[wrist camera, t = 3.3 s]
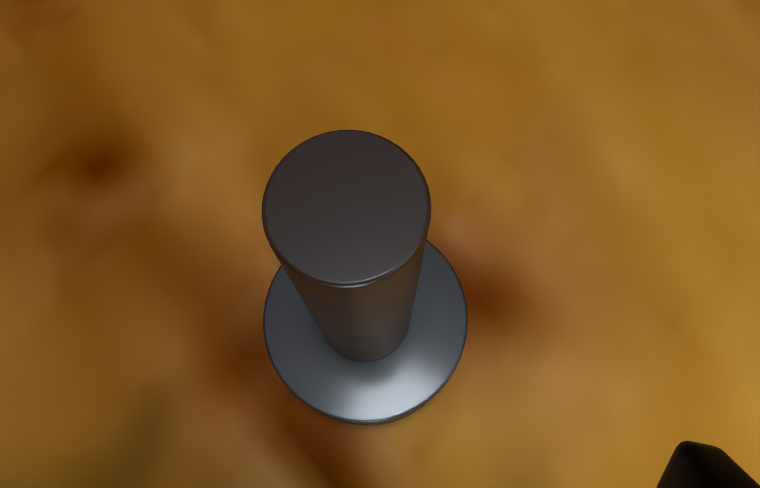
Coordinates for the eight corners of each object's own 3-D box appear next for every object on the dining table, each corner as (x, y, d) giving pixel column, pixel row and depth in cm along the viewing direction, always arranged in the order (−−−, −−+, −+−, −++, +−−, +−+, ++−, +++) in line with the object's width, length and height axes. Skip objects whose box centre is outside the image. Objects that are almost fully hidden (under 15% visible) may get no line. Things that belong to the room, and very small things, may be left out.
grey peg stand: (486, 383, 17) (610, 313, 8) (313, 454, 17) (216, 471, 7) (416, 223, 19) (448, -7, 9) (255, 283, 18) (110, 107, 9)
